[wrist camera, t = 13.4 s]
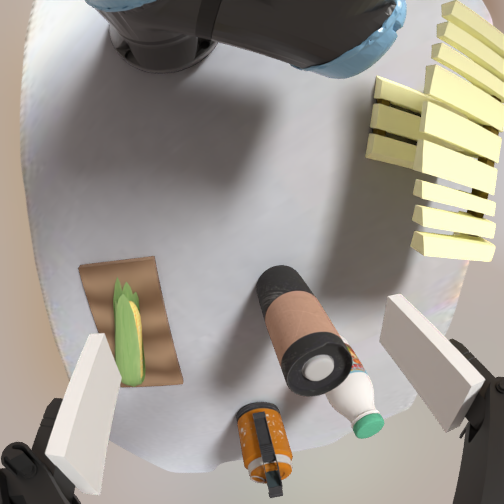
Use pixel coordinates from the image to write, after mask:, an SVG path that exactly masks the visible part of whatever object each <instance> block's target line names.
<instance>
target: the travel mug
mask: <svg viewBox="0 0 504 504" xmlns="http://www.w3.org/2000/svg"><path fill="white" fill-rule="evenodd" d="M257 294H258V298H259V301H260V305H261V309H262V312H263V316H264V320H265V323H266V327H267V329H268V332H269V335H270V338H271V341H272V344H273V347H274V349H275V352H276V355H277V358H278V361H279V363H280V366H281V369H282V372H283V375H284V378H285V380H286V383H287V385H288V387H289V388H290V390H291V391H293V392H294V393H296V394H298V395H301V396H318V395H322V394H325V393H327V392H329V391H331V390H333V389H335V388H336V387H338V386H339V385H340V384H341V383H342V382H344V380H345V379H346V378H347V377H348V375H349V373H350V372H351V369H352V364H353V360H352V356H351V353H350V352H349V350H348V348H347V347H346V345H345V343H344V342H343V340H342V338H341V337H340V335H339V333H338V332H337V330H336V329H335V327H334V325H333V324H332V322H331V320H330V319H329V317H328V316H327V314H326V312H325V311H324V309H323V308H322V306H321V304H320V303H319V301H318V300H317V298H316V297H315V295H314V294H313V293H312V291H311V290H310V289H309V287H308V286H307V284H306V283H305V282H304V280H303V279H302V278H301V276H300V275H299V274H298V272H297V271H296V270H294V269H293V268H291V267H288V266H284V265H279V266H274V267H272V268H269V269H268V270H266V271H265V272H264V273H263V274H262V275H261V276H260V278H259V280H258V283H257Z"/></svg>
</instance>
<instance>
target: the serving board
mask: <svg viewBox="0 0 504 504" xmlns="http://www.w3.org/2000/svg"><path fill="white" fill-rule="evenodd" d="M78 269H79V273H80V276H81V280H82V283H83V286H84V290H85V293H86V296H87V299H88V302H89V305H90V309H91V312H92V314H93V317H94V320H95V323H96V326H97V329H98V332H99V333H105V336H106V339H107V342H108V344H109V347H110V350H111V352H112V355H113V357H114V360H115V321H114V305H113V298H114V289H115V282H116V279H117V277H118V279H119V281H120V284H121V288H122V291H123V287H124V285H125V283H126V282H127V283H128V284H129V286H130V287H131V290H132V294H134V293H135V292H136V293H137V295H138V298H139V308H140V316H141V324H142V338H143V347H144V356H145V368H146V370H145V379H144V381H143V382H142V384H140V385H137V386H135V387H146V386H163V385H178V384H183V377H182V373H181V370H180V366H179V362H178V359H177V355H176V351H175V347H174V343H173V339H172V335H171V331H170V327H169V323H168V318H167V314H166V310H165V305H164V301H163V296H162V292H161V287H160V282H159V277H158V272H157V267H156V262H155V257H154V256H151V257H143V258H134V259H126V260H117V261H109V262H101V263H92V264H84V265H80V267H79V268H78ZM120 386H121V387H132V386H129V385H126V384H123V383H122V382H121V383H120Z"/></svg>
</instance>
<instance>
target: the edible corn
mask: <svg viewBox="0 0 504 504" xmlns="http://www.w3.org/2000/svg"><path fill="white" fill-rule="evenodd" d="M113 305H114V321H115V362H116V365H117V367H118V370H119V372H120V375H121V377H122V379H121V382H122V383H123V384H126V385H129V386H132V387H135V386H137V385H140V384H142V382H143V381H144V379H145V370H146V368H145V356H144V347H143V338H142V324H141V316H140V308H139V298H138V295H137V293H136V292H135V293H134V294H132V290H131V287H130V286H129V284H128V283H127V282H126V283H125V285H124V287H123V291H122V288H121V284H120V281H119V279H118V277H117V279H116V282H115V289H114V298H113Z"/></svg>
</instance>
